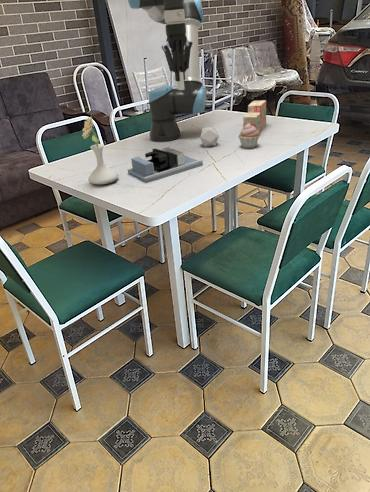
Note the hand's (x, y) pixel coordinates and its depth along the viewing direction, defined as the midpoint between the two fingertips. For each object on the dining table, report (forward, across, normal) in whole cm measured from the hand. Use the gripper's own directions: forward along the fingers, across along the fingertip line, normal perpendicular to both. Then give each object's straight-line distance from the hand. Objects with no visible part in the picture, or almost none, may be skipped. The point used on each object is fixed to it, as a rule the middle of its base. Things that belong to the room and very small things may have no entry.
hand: (181, 89), depth 170 cm
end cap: (+25, -19, -10) cm, 33 cm away
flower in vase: (+27, -41, -4) cm, 49 cm away
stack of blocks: (+27, +42, +3) cm, 50 cm away
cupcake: (+27, +24, -13) cm, 38 cm away
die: (+27, +14, +2) cm, 30 cm away
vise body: (+26, -17, -10) cm, 33 cm away
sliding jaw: (+25, -12, -10) cm, 29 cm away
